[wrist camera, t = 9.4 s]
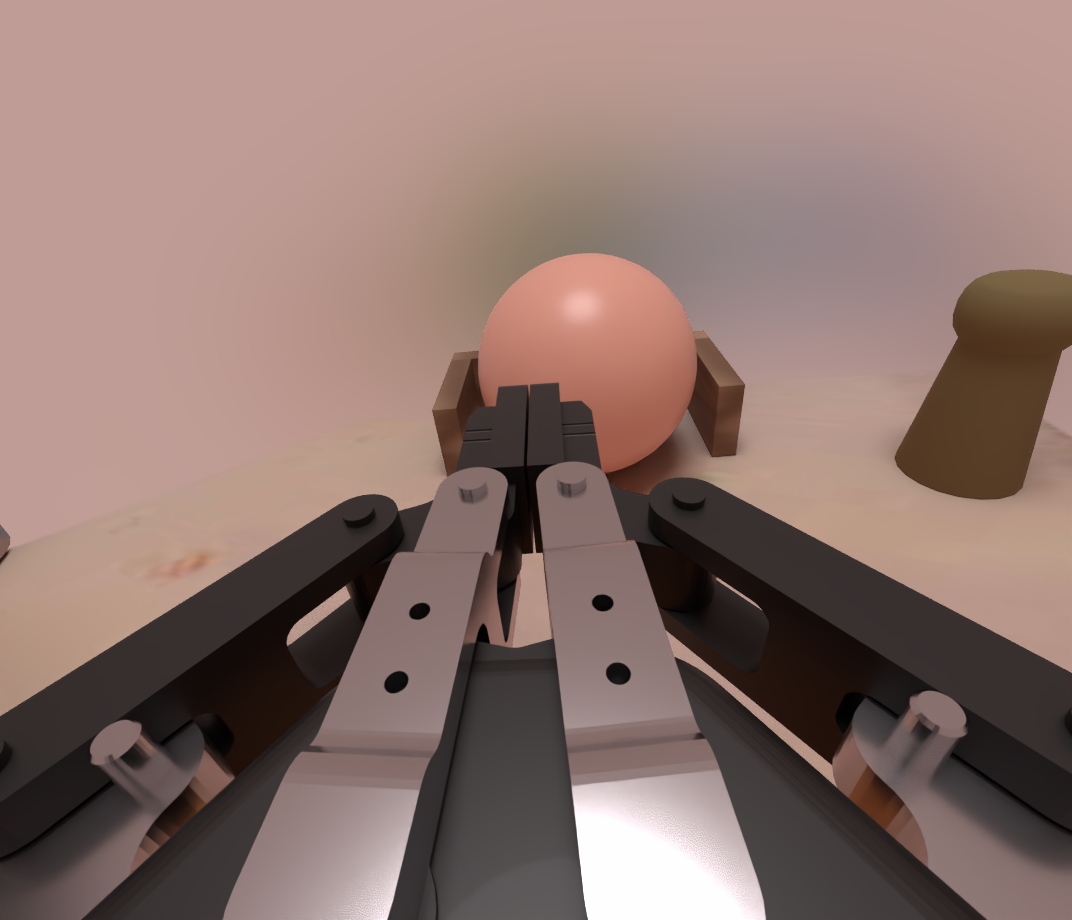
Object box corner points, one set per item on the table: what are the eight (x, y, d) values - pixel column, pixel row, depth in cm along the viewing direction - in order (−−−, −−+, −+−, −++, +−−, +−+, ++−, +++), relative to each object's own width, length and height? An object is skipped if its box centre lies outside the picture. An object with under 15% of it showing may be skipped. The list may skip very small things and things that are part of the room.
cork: (871, 459, 32) (927, 275, 26) (938, 431, 33) (1005, 253, 28) (977, 512, 27) (1076, 302, 21) (1048, 477, 29) (1159, 273, 23)
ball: (445, 369, 23) (467, 218, 31) (491, 520, 33) (498, 378, 41) (747, 348, 22) (689, 199, 30) (697, 510, 32) (664, 367, 40)
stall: (447, 476, 35) (432, 410, 32) (465, 410, 43) (454, 353, 40) (735, 454, 33) (745, 384, 31) (698, 391, 41) (703, 330, 39)
